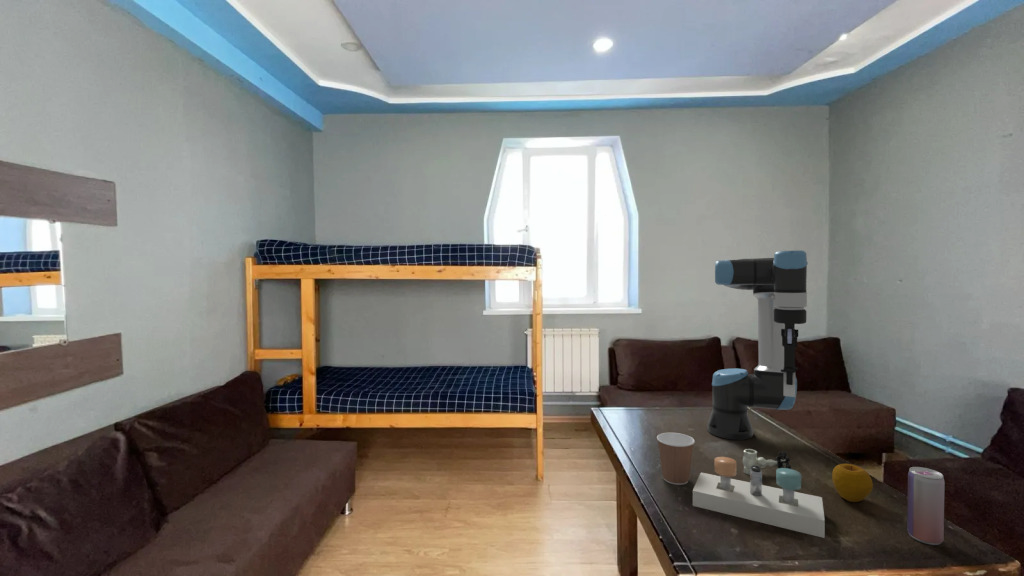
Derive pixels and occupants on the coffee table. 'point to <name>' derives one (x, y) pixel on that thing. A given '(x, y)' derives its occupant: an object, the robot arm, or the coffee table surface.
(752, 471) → the pot post
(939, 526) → the beverage can
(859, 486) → the apple
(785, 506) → the mount board
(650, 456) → the coffee table surface
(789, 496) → the knob teal
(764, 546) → the coffee table surface
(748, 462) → the valve
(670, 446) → the coffee cup
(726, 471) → the knob terracotta
